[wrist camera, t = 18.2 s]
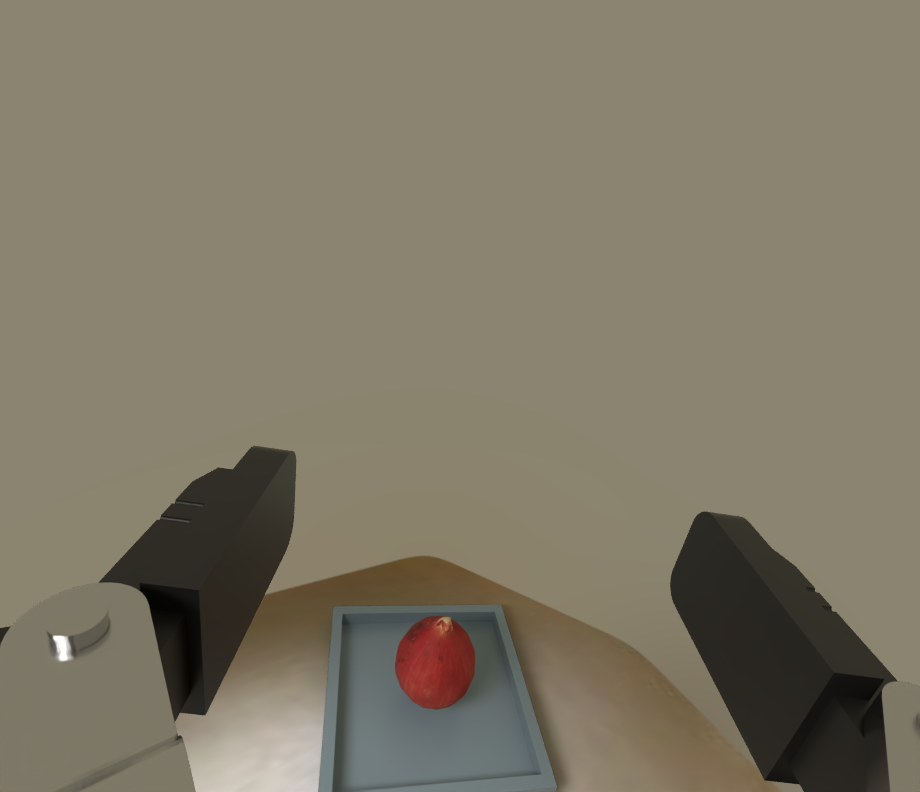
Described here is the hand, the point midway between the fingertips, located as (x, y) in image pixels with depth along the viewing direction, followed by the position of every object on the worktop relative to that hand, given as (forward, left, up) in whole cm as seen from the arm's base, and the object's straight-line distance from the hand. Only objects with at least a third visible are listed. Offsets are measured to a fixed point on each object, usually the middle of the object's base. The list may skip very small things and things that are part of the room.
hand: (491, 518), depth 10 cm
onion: (+5, +17, -30) cm, 34 cm away
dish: (+5, +17, -30) cm, 35 cm away
